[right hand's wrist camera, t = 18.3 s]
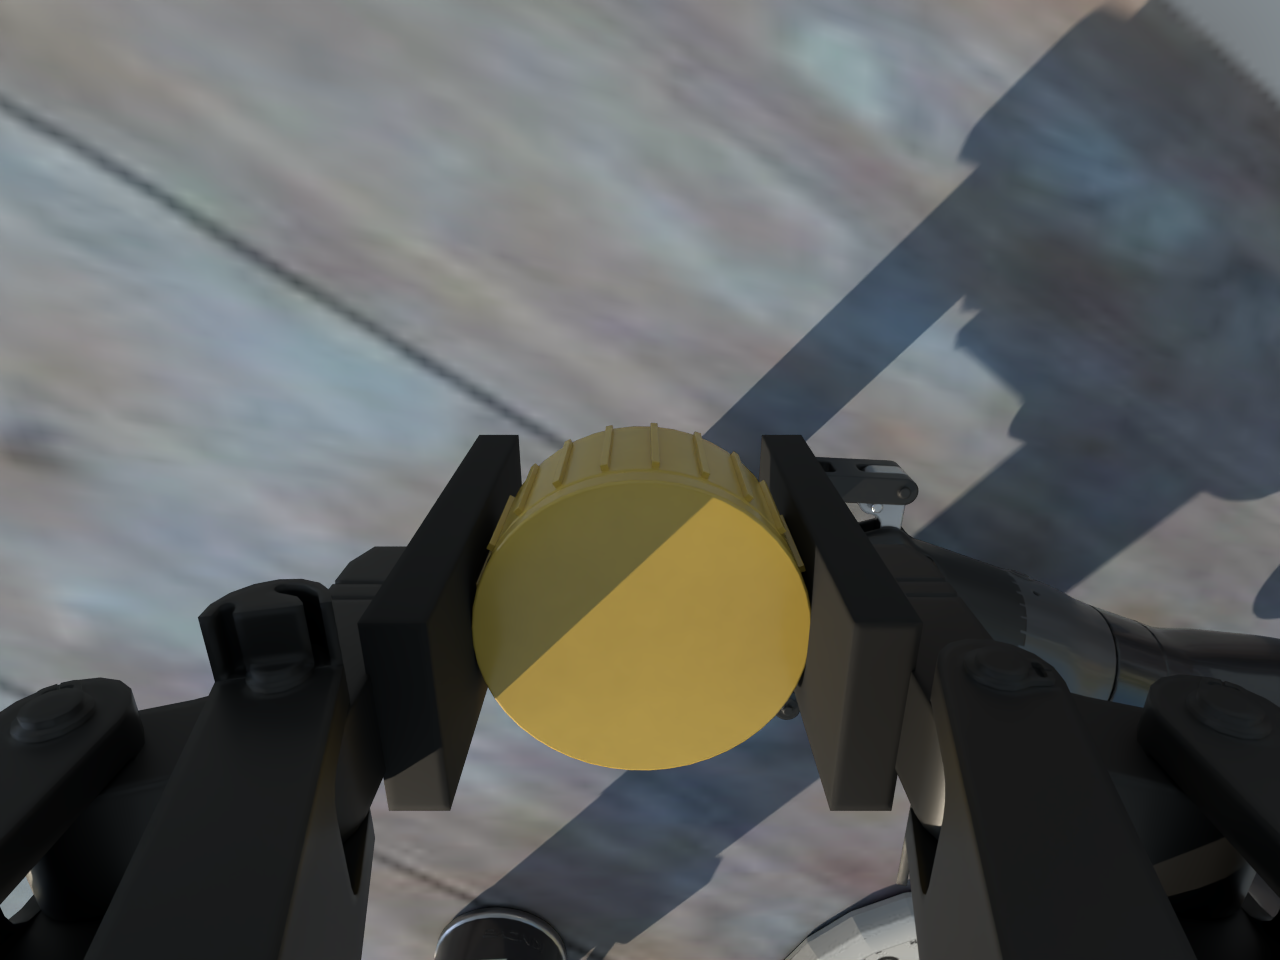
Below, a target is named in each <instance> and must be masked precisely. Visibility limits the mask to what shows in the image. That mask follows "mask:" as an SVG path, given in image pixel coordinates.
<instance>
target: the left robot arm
mask: <svg viewBox="0 0 1280 960" xmlns="http://www.w3.org/2000/svg"><path fill="white" fill-rule="evenodd" d="M816 459H817V460H818V462H819V463H820V465H821V466H822V468H823V469H824V471H825V473H826V474H827V476H828V477H829V479H830V480H831V482H832V483H833V485H834V486H835V488H836V489H837V491H838V493H839V494H840V496H841V497H842V499H843V500H844V502H846V503H857V504H858V505H859V507H860V508H861V509H862V511H864V512H865V513H868V514H872V515H875V518H874V519H869V520H865V521H861V522H858V523H859V525H860V526H861V528H862V529H863V531H864V533H865V534H866V536H867V537H868V539H869V540H870V542H871V543H872V544H906V545H908V546H910V547H911V548H913V549H914V550H916V551H918V552H919V553H921V554H923V555H924V556H926V557H927V558H929V559H931V560H932V561H933V563H934V564H935V565H936V567H937V568H938V569H939V570H940V572H941V573H942V574H943V575H944V577H945V578H946V579H945V580H946V582H949V583H950V584H951V586H952V587H953V588H954V590H955V591H956V592H957V596H958V597H961V598H962V600H963V601H964V602H965V604H966V605H967V606H968V607H969V609H970V610H971V611H972V613H973V614H974V615H975V616H976V618H977V619H978V620H979V621H980V623H981V624H982V625H983V627H984V628H985V629H986V630H987V632H988V633H989V634H990V636H991V637H992V638H993V639H994V641H999V642H1003V643H1008V644H1012V645H1015V646H1017V647H1019V648H1022V649H1024V650H1027V651H1029V652H1031V653H1034V654H1036V655H1037V656H1039V657H1040V658H1042V659H1043V660H1044V661H1046V662H1047V663H1049V664H1050V665H1052V666H1053V667H1054V668H1055V669H1056V670H1057V672H1058V673H1059V674H1060V675H1061V677H1062V678H1063V679H1064V680H1065V682H1066V684H1067V686H1068V688H1069V690H1070V692H1071V693H1075V694H1079V695H1083V696H1086V697H1091V698H1096V699H1101V700H1106V701H1112V702H1117V703H1122V704H1127V705H1132V706H1137V707H1142V708H1143V707H1144V704H1145V701H1146V698H1147V695H1148V692H1149V689H1150V685H1152V684H1153V683H1154V682H1156V681H1157V680H1158V679H1160V678H1161V677H1166V676H1173V675H1180V674H1183V675H1192V676H1201V677H1211V678H1216V679H1220V680H1221V681H1223V682H1224V681H1227V682H1230V683H1234V684H1237V685H1239V686H1242V687H1243V688H1245V689H1246V690H1248V691H1250V692H1253V693H1255V694H1257V695H1259V696H1262V697H1264V698H1266V699H1268V700H1269V701H1271V702H1272V703H1274V704H1275V705H1277V706H1278V707H1280V639H1278V638H1272V637H1266V636H1259V635H1250V634H1241V633H1230V632H1220V631H1209V630H1198V629H1185V628H1156V627H1150V626H1148V625H1145V624H1142V623H1140V622H1137V621H1134V620H1131V619H1128V618H1125V617H1122V616H1119V615H1116V614H1113V613H1111V612H1108V611H1105V610H1102V609H1099V608H1096V607H1093V606H1091V605H1088V604H1086V603H1083V602H1081V601H1078V600H1076V599H1074V598H1072V597H1070V596H1068V595H1067V594H1065V593H1063V592H1061V591H1059V590H1057V589H1055V588H1053V587H1051V586H1049V585H1046V584H1044V583H1041V582H1038V581H1036V580H1033V579H1031V578H1029V576H1027V575H1025V574H1022V573H1020V572H1017V571H1014V570H1006V569H1005V570H1004V569H1001V568H998V567H996V566H993V565H990V564H987V563H984V562H981V561H978V560H975V559H972V558H969V557H967V556H964V555H961V554H958V553H955V552H952V551H950V550H947V549H944V548H941V547H938V546H935V545H932V544H930V543H927V542H924V541H921V540H917V539H914V538H912V537H911V536H909V535H908V534H907V533H906V532H905V531H904V529H903V528H902V527H901V525H902V519H903V514H904V509H905V505H907V504H910V503H911V502H913V501H914V500H915V499H916V497H917V495H918V487H917V485H916V483H915V482H914V481H913V480H912V479H911V478H910V477H909V476H908V475H907V474H906V473H905V472H904V471H903V469H902V468H901V467H900V466H899V465H898V464H897V463H896V462H894V461H887V460H866V459H846V458H825V457H816ZM799 711H800V710H799V706H798V703H797V700H796V696H795V693H794V691H793V693H792V694H791V696H790V697H789V699H788V701H787V702H786V703H785V704H784V706H783V707H782V708H781V709H780V711H779V712H778V713H777V714H776V716H778V717H779V718H781V719H784V720H789V719H793V718H795V717H796V716H797V715H798V714H799ZM1248 892H1249V893H1250V895H1251V896H1252V897H1253V898H1254V899H1255V900H1256V902H1257V903H1258V904H1259V905H1260V906H1261V907H1262V908H1263V909H1264V910H1265V911H1266V912H1268V913H1269V914H1270V915H1271V916H1272V917H1275V916H1276V915H1277V913H1278V911H1279V909H1280V898H1279V897H1278V896H1277V895H1276V893H1275V892H1274V891H1273V890H1272V889H1271V888H1270V887H1269V886H1268V885H1267V884H1266V882H1265V881H1264V880H1263V879H1262V878H1261V877H1260V876H1259V875H1258V874H1257V872H1256V874H1255V877H1254V879H1253V881H1252V884H1251V886H1250V888H1249V891H1248ZM566 958H567V957H566V948H565V945H564V943H563V941H562V939H561V937H560V936H559V934H558V933H557V932H556V931H555V930H554V929H553V928H552V927H551V926H550V925H549V924H547V923H546V922H545V921H543V920H541V919H540V918H538V917H536V916H534V915H532V914H529V913H527V912H523V911H520V910H516V909H510V908H501V907H492V908H482V909H477V910H473V911H470V912H467V913H465V914H463V915H461V916H459V917H457V918H455V919H454V920H453V921H451V922H450V923H449V924H448V925H447V926H446V927H445V928H444V930H443V931H442V933H441V935H440V937H439V940H438V944H437V947H436V951H435V959H434V960H566Z"/></svg>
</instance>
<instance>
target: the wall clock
mask: <svg viewBox="0 0 1280 960" xmlns="http://www.w3.org/2000/svg"><path fill="white" fill-rule="evenodd" d="M785 960H919V954H918V945H917V936H916V928H915V919H914V910H913V901H912V893H911V892H907V893H902V894H899V895H897V896H894V897H891V898H888V899H885V900H882V901H879V902H877V903H874V904H871V905H868V906H865V907H862V908H859V909H857V910H854V911H851V912H849V913H848V914H846V915H844V916H843V917H841V918H839V919H838V920H836V921H834V922H833V923H831V924H829V925H828V926H826V927H824V928H823V929H821V930H819V931H818V932H816V933H814V934H813V935H811V936H809V937H808V938H806V939H805V940H804V941H803V942H802V943H801V944H800V945H799V946H798V947H797V948H796V949H795V950H794V951H793V952H792V953H791V954H790V955H789V956H788V957H787V958H786V959H785Z"/></svg>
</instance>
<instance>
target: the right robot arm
mask: <svg viewBox="0 0 1280 960" xmlns="http://www.w3.org/2000/svg"><path fill="white" fill-rule="evenodd" d="M763 480H764V481H765V482H766V484H767V486H768V488H769V490H770V493H771V495H772V498H773V500H774V502H775V505H776V507H777V509H778V512H779V514H780V515H783V517H784V519H785V522H786V524H787V526H788V529H789V531H790V533H791V536H792V538H793V540H794V543H795V545H796V547H797V550H798V552H799V554H800V557H801V559H802V561H803V564H804V566H805V569H806V571H804V572H801V574H802V577H803V579H804V582H805V585H806V588H807V590H808V594H809V600H810V605H811V619H810V630H809V640H808V650H807V658H806V665H805V668H804V671H803V673H802V675H801V678H800V680H799V682H798V684H797V686H796V688H795V689H794V693H795V696H796V700H797V703H798V706H799V710H800V713H801V716H802V719H803V723H804V726H805V729H806V732H807V736H808V739H809V742H810V746H811V749H812V752H813V755H814V759H815V762H816V765H817V769H818V772H819V775H820V778H821V782H822V785H823V788H824V792H825V795H826V798H827V801H828V805H829V808H830V811H891V810H892V804H893V798H894V792H895V786H896V781H897V775H898V776H899V778H900V781H901V783H902V785H903V788H904V790H905V792H906V794H907V797H908V799H909V801H910V804H911V806H910V811H909V817H908V822H907V827H906V833H905V838H904V844H903V849H902V855H901V860H900V866H899V872H898V878H897V884H899V885H904V886H906V885H907V880H908V875H910V884H911V893H912V901H913V910H914V919H915V928H916V936H917V945H918V954H919V960H1280V909H1279V911H1278V913H1277V915H1276V916H1275V917H1272V916H1271V915H1270V914H1269V913H1268V912H1266V911H1265V910H1264V909H1263V908H1262V907H1261V906H1260V905H1259V904H1258V903H1257V902H1256V900H1255V899H1254V898H1253V897H1252V896H1251V895H1250V893H1249V892H1248V891H1249V888H1250V886H1251V884H1252V881H1253V879H1254V877H1255V874H1256V872H1257V874H1258V875H1259V876H1260V877H1261V878H1262V879H1263V880H1264V881H1265V882H1266V884H1267V885H1268V886H1269V887H1270V888H1271V889H1272V890H1273V891H1274V892H1275V893H1276V895H1277V896H1278V897H1279V898H1280V707H1278V706H1277V705H1275V704H1274V703H1272V702H1271V701H1269V700H1268V699H1266V698H1264V697H1262V696H1259V695H1257V694H1255V693H1253V692H1250V691H1248V690H1246V689H1245V688H1243V687H1242V686H1239V685H1237V684H1234V683H1230V682H1227V681H1224V682H1223V681H1221V680H1220V679H1216V678H1211V677H1201V676H1192V675H1183V674H1180V675H1173V676H1166V677H1161V678H1160V679H1158V680H1157V681H1156V682H1154V683H1153V684H1152V685H1150V689H1149V692H1148V695H1147V698H1146V701H1145V704H1144V707H1143V708H1142V707H1137V706H1132V705H1127V704H1122V703H1117V702H1112V701H1106V700H1101V699H1096V698H1091V697H1086V696H1083V695H1079V694H1075V693H1071V692H1070V690H1069V688H1068V686H1067V684H1066V682H1065V680H1064V679H1063V678H1062V677H1061V675H1060V674H1059V673H1058V672H1057V670H1056V669H1055V668H1054V667H1053V666H1052V665H1050V664H1049V663H1047V662H1046V661H1044V660H1043V659H1042V658H1040V657H1039V656H1037V655H1036V654H1034V653H1031V652H1029V651H1027V650H1024V649H1022V648H1019V647H1017V646H1015V645H1012V644H1008V643H1003V642H999V641H994V639H993V638H992V637H991V636H990V634H989V633H988V632H987V630H986V629H985V628H984V627H983V625H982V624H981V623H980V621H979V620H978V619H977V618H976V616H975V615H974V614H973V613H972V611H971V610H970V609H969V607H968V606H967V605H966V604H965V602H964V601H963V600H962V598H961V597H958V596H957V592H956V591H955V590H954V588H953V587H952V586H951V584H950V583H949V582H946V580H945V579H946V578H945V577H944V575H943V574H942V573H941V572H940V570H939V569H938V568H937V567H936V565H935V564H934V563H933V561H932V560H931V559H929V558H927V557H926V556H924V555H923V554H921V553H919V552H918V551H916V550H914V549H913V548H911V547H910V546H908V545H906V544H872V543H871V542H870V540H869V539H868V537H867V536H866V534H865V533H864V531H863V529H862V528H861V526H860V525H859V523H858V522H857V520H856V519H855V517H854V516H853V514H852V513H851V511H850V509H849V508H848V506H847V505H846V503H845V502H844V500H843V499H842V497H841V496H840V494H839V493H838V491H837V489H836V488H835V486H834V485H833V483H832V482H831V480H830V479H829V477H828V476H827V474H826V473H825V471H824V469H823V468H822V466H821V465H820V463H819V462H818V460H817V459H816V457H815V456H814V454H813V453H812V451H811V450H810V448H809V446H808V445H807V443H806V442H805V440H804V439H803V437H802V436H801V435H762V443H761V458H760V473H759V482H761V481H763ZM521 486H522V481H521V466H520V451H519V436H518V435H479V436H478V438H477V439H476V441H475V443H474V444H473V446H472V447H471V449H470V450H469V452H468V453H467V455H466V456H465V458H464V459H463V461H462V463H461V464H460V466H459V467H458V469H457V470H456V472H455V473H454V475H453V476H452V478H451V479H450V481H449V483H448V484H447V486H446V487H445V489H444V490H443V492H442V493H441V495H440V496H439V498H438V499H437V501H436V503H435V504H434V506H433V507H432V509H431V510H430V512H429V513H428V515H427V516H426V518H425V519H424V521H423V523H422V524H421V526H420V527H419V529H418V530H417V532H416V533H415V535H414V536H413V538H412V539H411V541H410V543H409V544H408V546H407V547H373V548H372V549H370V550H369V551H367V552H365V553H364V554H362V555H361V556H359V557H357V558H356V559H354V560H352V561H351V562H349V564H348V565H347V566H346V568H345V569H344V570H343V571H342V573H341V574H340V575H339V577H338V578H337V579H336V580H335V584H332V586H331V587H330V588H329V589H327V588H326V587H325V586H323V585H322V584H321V583H318V582H314V581H309V580H304V579H279V580H273V581H268V582H263V583H258V584H253V585H251V586H248V587H245V588H242V589H239V590H237V591H234V592H231V593H229V594H227V595H226V596H224V597H222V598H220V599H219V600H217V601H215V602H213V603H212V604H210V605H209V606H208V607H207V608H206V609H205V610H204V612H203V613H202V614H201V615H200V616H199V617H198V620H199V623H200V627H201V631H202V635H203V638H204V642H205V646H206V650H207V653H208V657H209V661H210V665H211V669H212V672H213V676H214V680H215V683H214V685H213V687H212V690H211V692H210V694H209V696H207V697H203V698H199V699H195V700H190V701H185V702H180V703H175V704H170V705H165V706H160V707H155V708H150V709H145V710H140V711H138V709H137V706H136V702H135V699H134V696H133V693H132V690H131V688H129V687H128V686H127V685H126V684H124V683H123V682H122V681H120V680H114V679H107V678H92V679H83V680H72V681H68V682H63V683H61V684H60V685H57V684H55V685H52V686H49V687H46V688H43V689H41V690H39V691H38V692H37V693H34V694H32V695H30V696H28V697H25V698H23V699H21V700H19V701H16V702H15V703H13V704H12V705H10V706H9V707H7V708H6V709H4V710H3V711H1V712H0V904H1V903H2V902H3V901H4V900H5V899H6V898H7V896H8V895H9V894H10V893H11V892H12V891H13V890H14V889H15V887H16V886H17V885H18V884H19V883H20V882H21V881H22V880H23V879H24V877H25V876H26V878H27V880H28V882H29V884H30V887H31V889H32V891H33V894H34V895H33V896H32V897H31V898H30V899H29V901H28V902H27V903H26V904H25V905H24V906H23V908H22V909H21V910H19V911H18V912H17V913H16V914H15V915H14V916H12V917H11V918H10V919H9V920H8V919H7V918H6V917H5V916H4V914H3V912H2V910H1V908H0V960H361V956H362V947H363V938H364V929H365V921H366V912H367V903H368V894H369V886H370V877H371V868H372V859H373V851H374V842H375V835H374V828H373V822H372V817H371V811H370V806H371V804H372V802H373V799H374V797H375V795H376V792H377V790H378V788H379V785H380V783H381V781H382V779H383V778H384V784H385V790H386V795H387V801H388V807H389V811H450V809H451V806H452V803H453V800H454V796H455V793H456V790H457V786H458V783H459V780H460V777H461V773H462V770H463V767H464V763H465V760H466V757H467V754H468V750H469V747H470V744H471V740H472V737H473V734H474V731H475V727H476V724H477V721H478V718H479V714H480V711H481V708H482V704H483V701H484V698H485V695H486V691H487V688H488V686H487V684H486V683H485V681H484V678H483V676H482V673H481V671H480V668H479V666H478V663H477V660H476V655H475V651H474V647H473V638H472V627H471V621H472V606H473V602H474V597H475V593H476V589H477V587H476V583H477V581H478V578H479V576H480V573H481V571H482V568H483V566H484V564H485V561H486V559H487V556H488V554H489V551H490V550H488V549H487V546H488V544H489V541H490V539H491V537H492V535H493V532H494V530H495V528H496V525H497V523H498V521H499V518H500V516H501V514H502V511H503V509H504V507H505V505H506V502H507V500H508V498H509V496H510V495H511V496H513V497H515V496H516V494H517V492H518V491H519V489H520V487H521Z"/></svg>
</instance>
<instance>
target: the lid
mask: <svg viewBox="0 0 1280 960" xmlns="http://www.w3.org/2000/svg"><path fill="white" fill-rule="evenodd" d="M487 549H488V550H490V551H489V554H488V556H487V559H486V561H485V564H484V566H483V568H482V571H481V573H480V576H479V578H478V581H477V583H476V587H477V589H476V593H475V597H474V602H473V606H472V621H471V627H472V638H473V647H474V651H475V655H476V660H477V663H478V666H479V668H480V671H481V673H482V676H483V678H484V681H485V683H486V684H487V686H488V688H489V690H490V691H491V693H492V695H493V696H494V698H495V699H496V701H497V702H498V703H499V704H500V706H501V707H502V708H503V710H504V711H505V712H506V713H507V714H508V715H509V716H510V717H511V718H512V719H513V720H514V721H515V722H516V723H517V724H518V725H519V726H520V727H521V728H522V729H524V730H525V731H526V732H528V733H529V734H530V735H531V736H533V737H534V738H535V739H537V740H539V741H540V742H542V743H544V744H545V745H547V746H549V747H550V748H552V749H554V750H556V751H558V752H561V753H563V754H565V755H567V756H569V757H572V758H575V759H578V760H581V761H584V762H587V763H590V764H595V765H599V766H604V767H608V768H616V769H625V770H658V769H669V768H675V767H680V766H685V765H690V764H693V763H697V762H700V761H703V760H706V759H710V758H712V757H714V756H717V755H719V754H721V753H724V752H726V751H728V750H730V749H732V748H733V747H735V746H737V745H739V744H740V743H742V742H744V741H746V740H747V739H748V738H750V737H751V736H752V735H754V734H755V733H757V732H758V731H759V730H761V729H762V728H763V727H764V726H765V725H766V724H767V723H768V722H769V721H770V720H771V719H772V718H773V717H774V716H775V715H776V714H777V713H778V712H779V711H780V709H781V708H782V707H783V706H784V704H785V703H786V702H787V701H788V699H789V697H790V696H791V694H792V693H793V691H794V689H795V688H796V686H797V684H798V682H799V680H800V678H801V675H802V673H803V671H804V668H805V665H806V658H807V650H808V640H809V630H810V619H811V605H810V600H809V594H808V590H807V588H806V585H805V582H804V579H803V577H802V574H801V572H804V571H806V569H805V566H804V564H803V561H802V559H801V557H800V554H799V552H798V550H797V547H796V545H795V543H794V540H793V538H792V536H791V533H790V531H789V529H788V526H787V524H786V522H785V519H784V517H783V515H780V514H779V512H778V509H777V507H776V505H775V502H774V500H773V498H772V495H771V493H770V490H769V488H768V486H767V484H766V482H765V481H764V480H763V481H761V482H759V481H758V480H757V478H756V477H755V476H754V475H753V474H752V473H751V472H750V471H749V470H748V469H747V468H746V467H745V466H744V465H743V464H742V463H741V460H740V457H739V455H738V454H737V453H736V452H734V451H733V452H732V454H730V453H728V452H727V451H725V450H724V449H722V448H720V447H718V446H717V445H715V444H713V443H711V442H709V441H707V440H705V439H702V436H701V433H698V432H694V434H693V435H692V434H689V433H685V432H681V431H678V430H674V429H667V428H660V427H658V424H657V423H651V425H650V427H641V426H633V427H624V428H615V429H613V426H612V425H611V426H606V430H605V431H602V432H598V433H594V434H592V435H589V436H587V437H584V438H581V439H579V440H576V441H575V442H573V443H572V441H571V439H569V440H568V441H566V442H565V443H564V446H563V448H562V449H560V450H558V451H557V452H556V453H554V454H553V455H552V456H550V457H549V458H547V459H546V460H545V461H544V462H543V463H542V464H541V465H540V466H538V465H537V464H534V465H533V466H532V467H531V469H530V471H529V474H528V476H527V479H526V481H525V482H524V483H523V485H522V486H521V487H520V489H519V491H518V492H517V494H516V496H515V497H513V496H511V495H510V496H509V498H508V500H507V502H506V505H505V507H504V509H503V511H502V514H501V516H500V518H499V521H498V523H497V525H496V528H495V530H494V532H493V535H492V537H491V539H490V541H489V544H488V546H487Z"/></svg>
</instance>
